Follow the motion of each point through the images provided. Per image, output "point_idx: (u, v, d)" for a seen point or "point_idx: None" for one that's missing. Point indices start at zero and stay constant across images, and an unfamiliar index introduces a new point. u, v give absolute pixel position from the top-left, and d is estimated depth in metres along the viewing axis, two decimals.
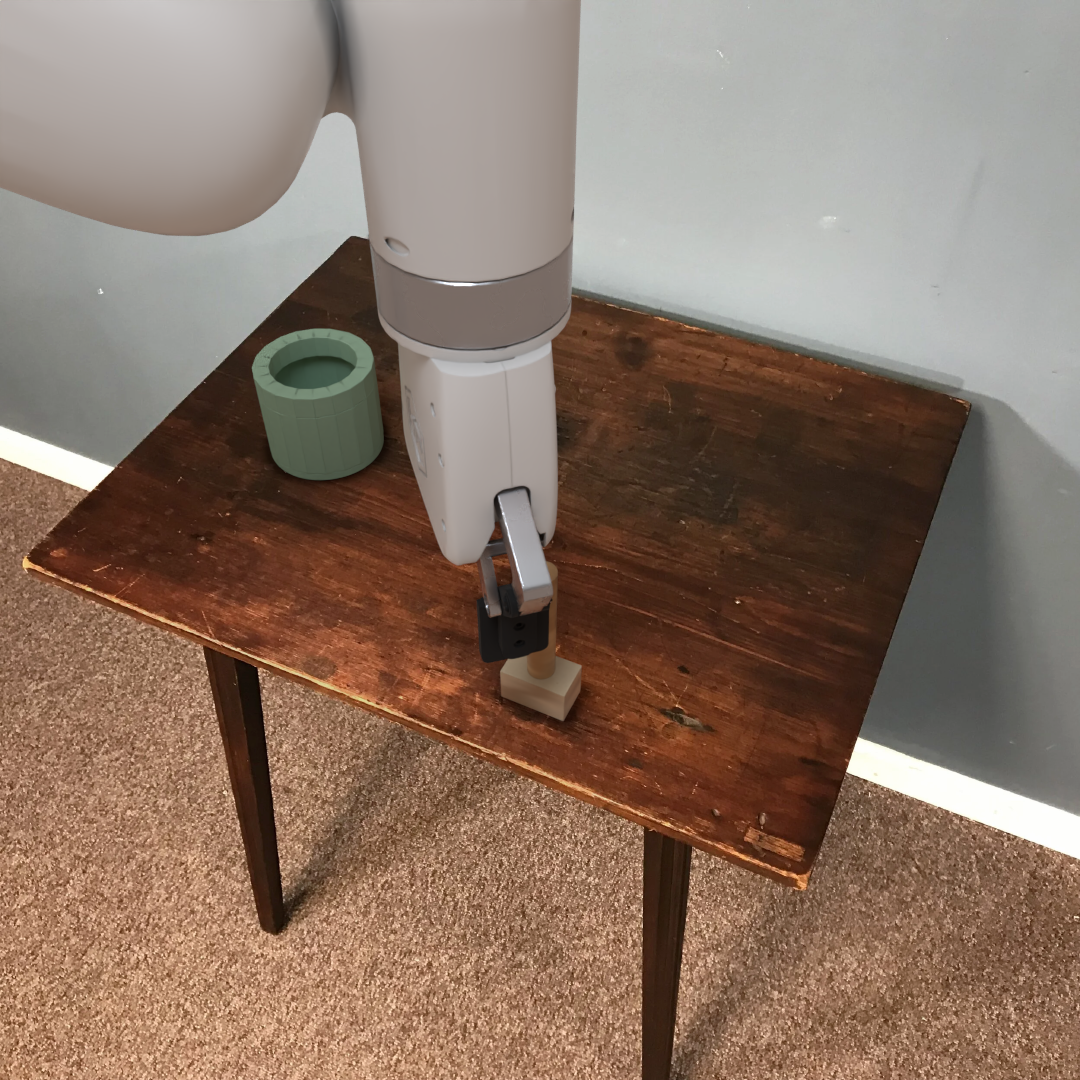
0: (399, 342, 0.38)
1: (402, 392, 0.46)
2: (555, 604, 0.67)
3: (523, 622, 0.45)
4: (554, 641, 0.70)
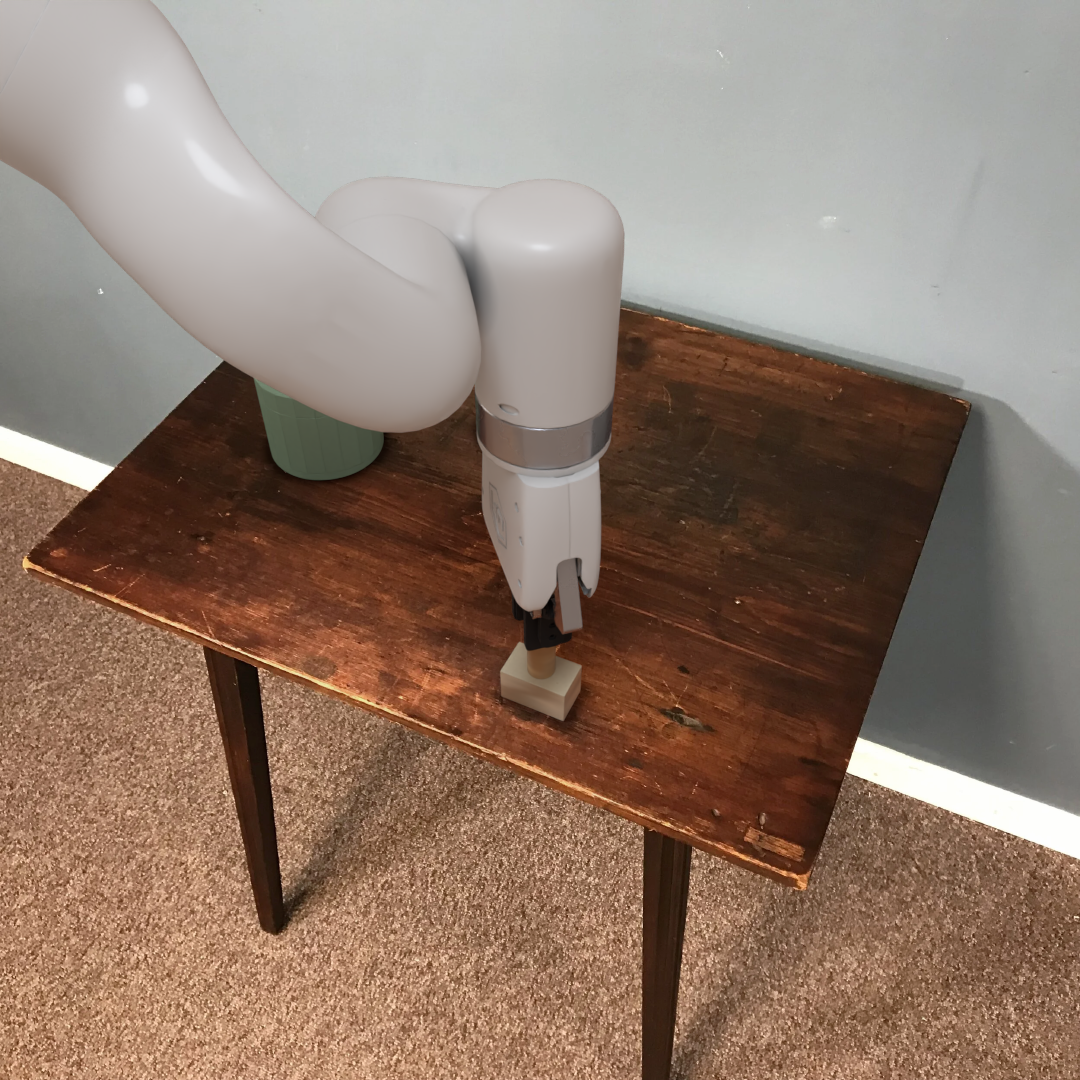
0: (494, 462, 0.56)
1: (484, 483, 0.64)
2: None
3: None
4: None
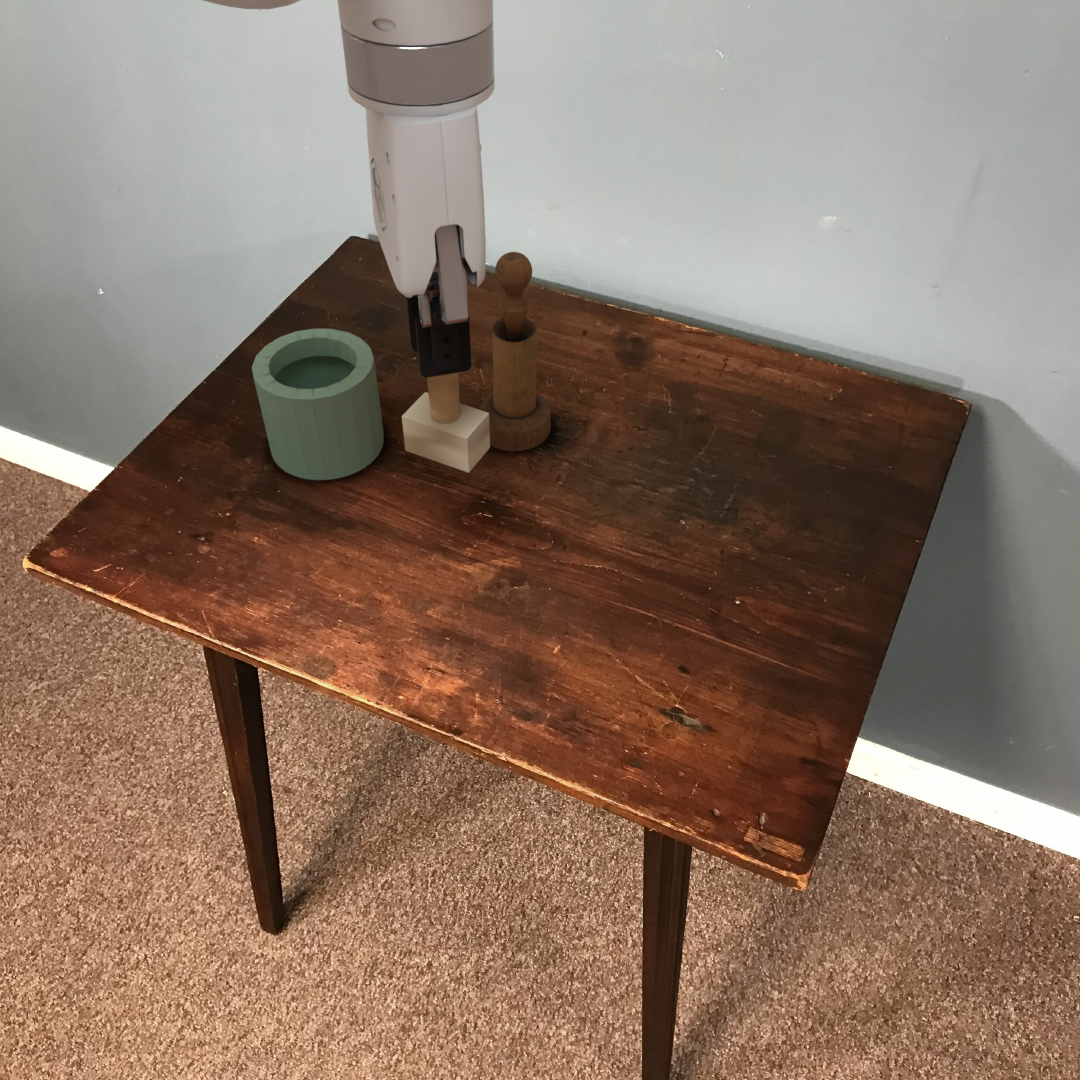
0: (362, 104, 0.51)
1: None
2: None
3: (449, 336, 0.62)
4: (455, 375, 0.66)
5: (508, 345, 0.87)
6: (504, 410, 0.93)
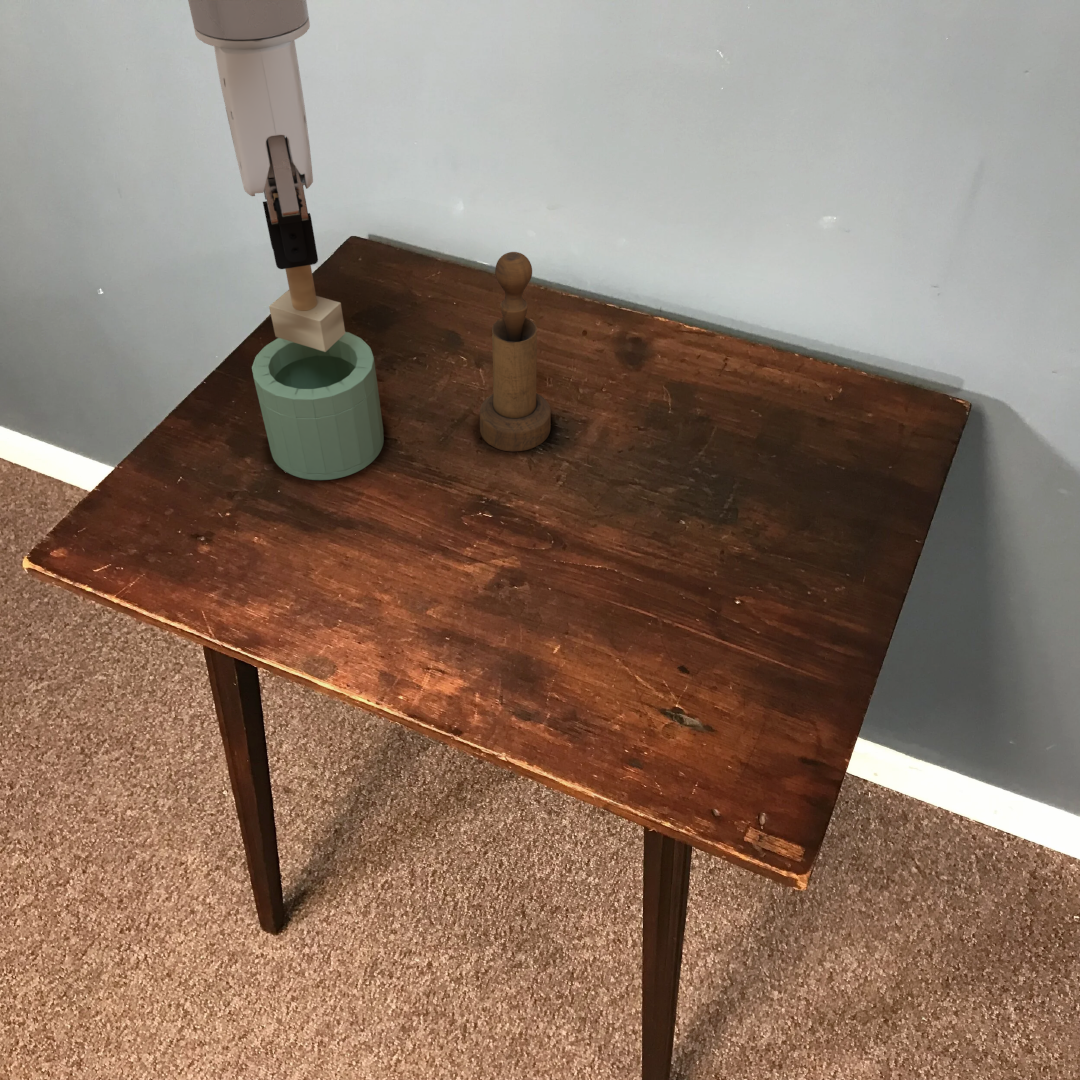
0: (203, 41, 0.67)
1: None
2: None
3: (295, 233, 0.77)
4: (307, 268, 0.82)
5: (508, 345, 0.87)
6: (504, 410, 0.93)
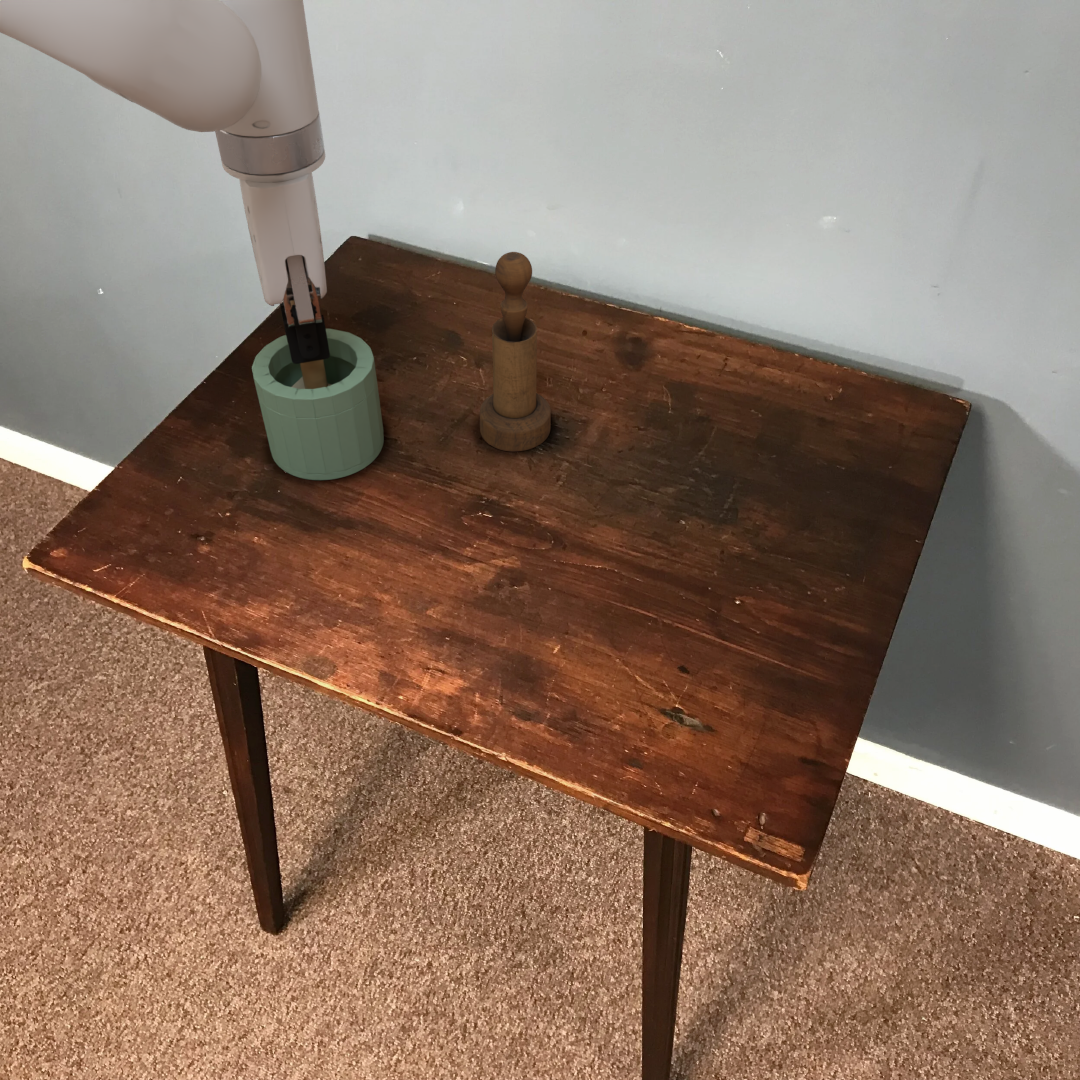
0: (230, 173, 0.75)
1: None
2: None
3: (309, 333, 0.85)
4: (320, 361, 0.89)
5: (508, 345, 0.87)
6: (504, 410, 0.93)
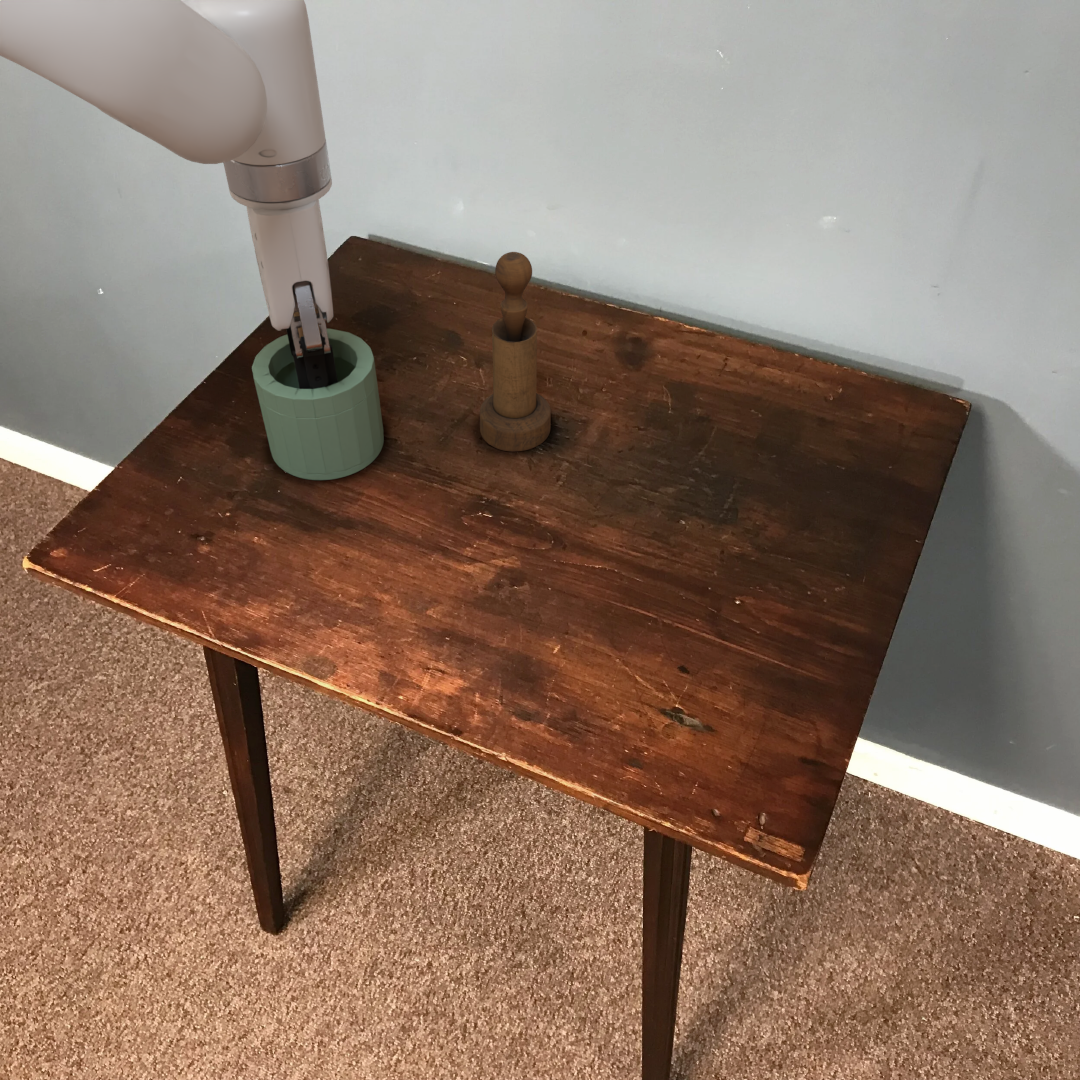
0: (237, 201, 0.75)
1: None
2: None
3: (317, 364, 0.84)
4: None
5: (508, 345, 0.87)
6: (504, 410, 0.93)
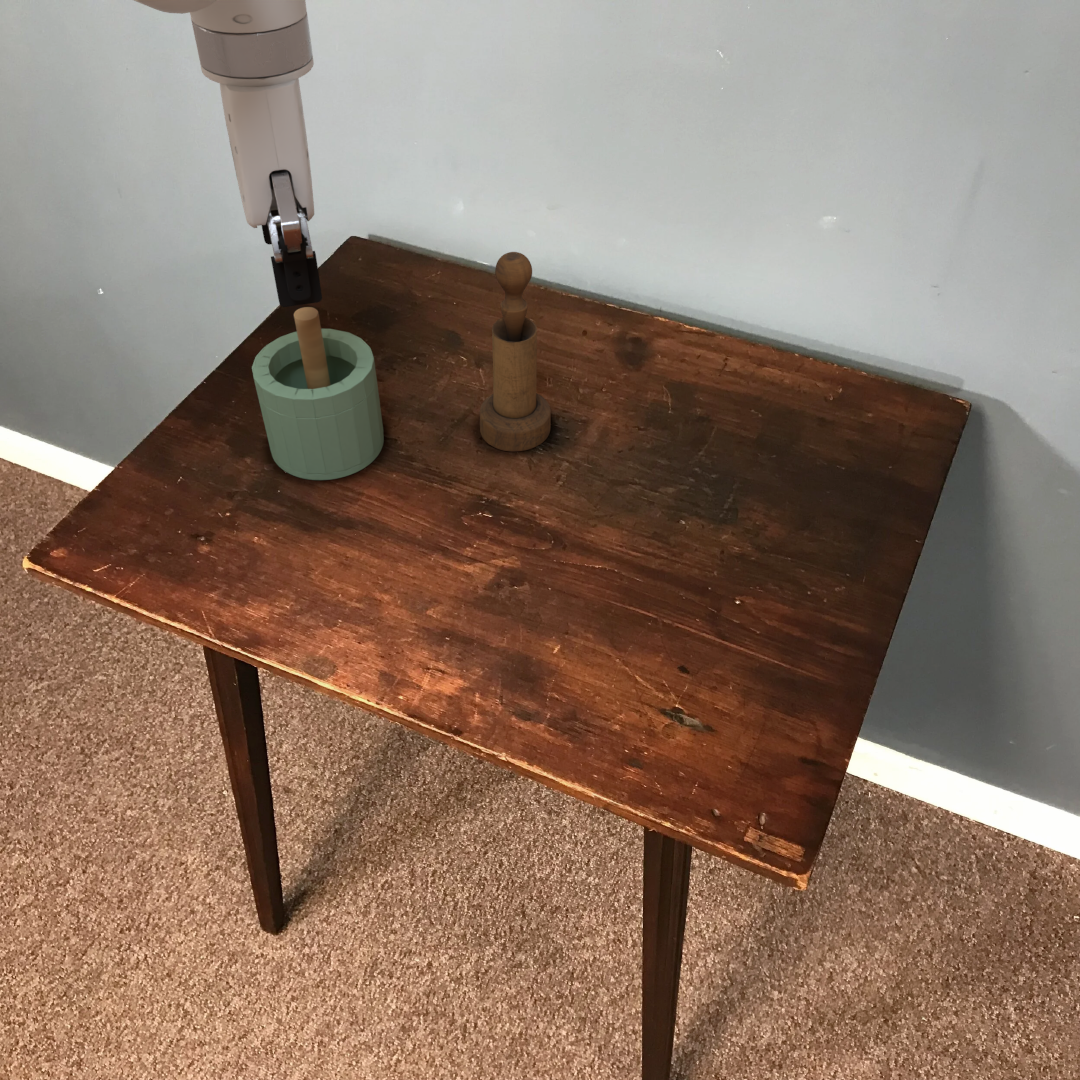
0: (209, 78, 0.69)
1: None
2: (320, 343, 0.87)
3: (299, 271, 0.76)
4: (326, 380, 0.89)
5: (508, 345, 0.87)
6: (504, 410, 0.93)
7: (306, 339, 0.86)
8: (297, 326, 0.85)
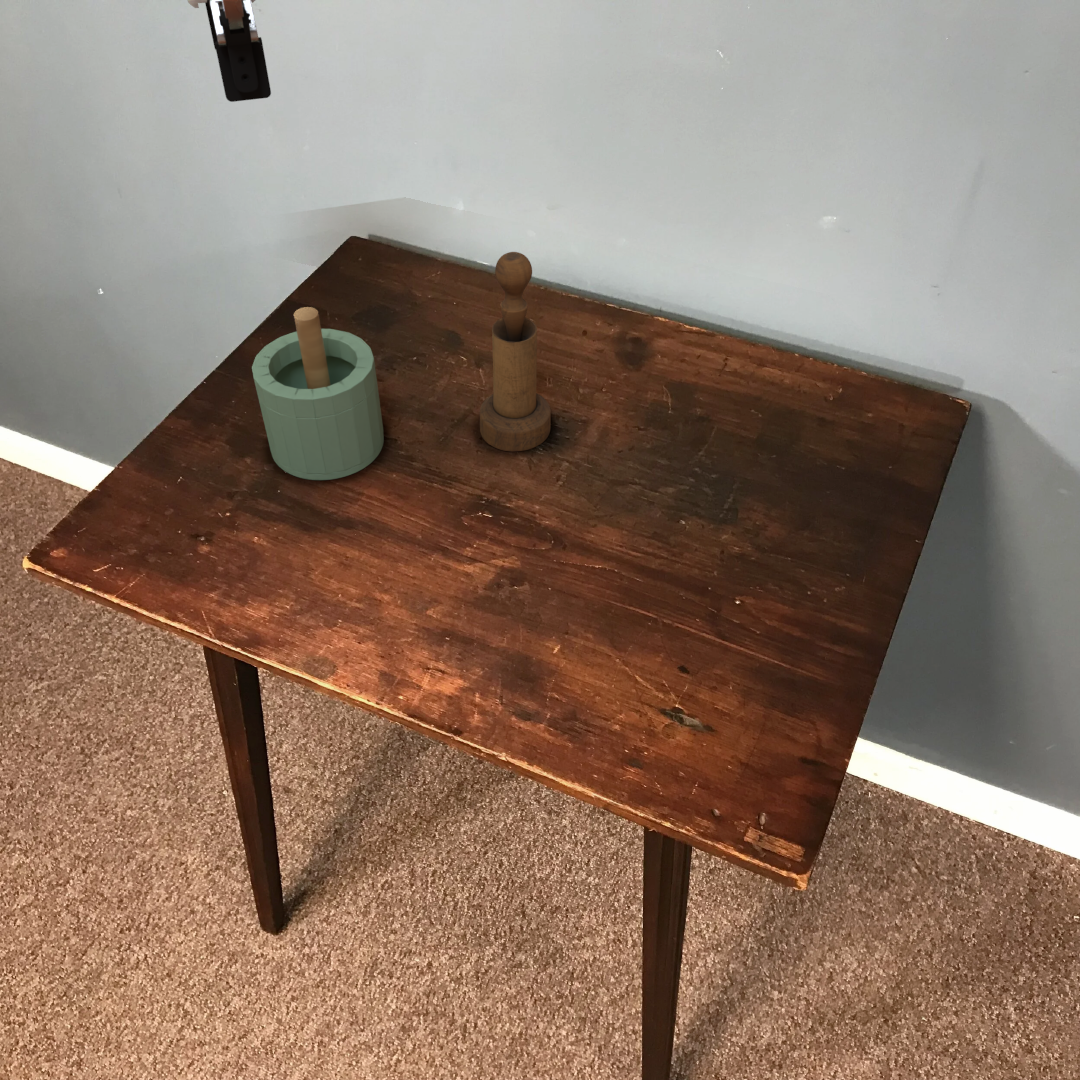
0: None
1: None
2: (320, 343, 0.87)
3: (244, 57, 0.72)
4: (326, 380, 0.89)
5: (508, 345, 0.87)
6: (504, 410, 0.93)
7: (306, 339, 0.86)
8: (297, 326, 0.85)
